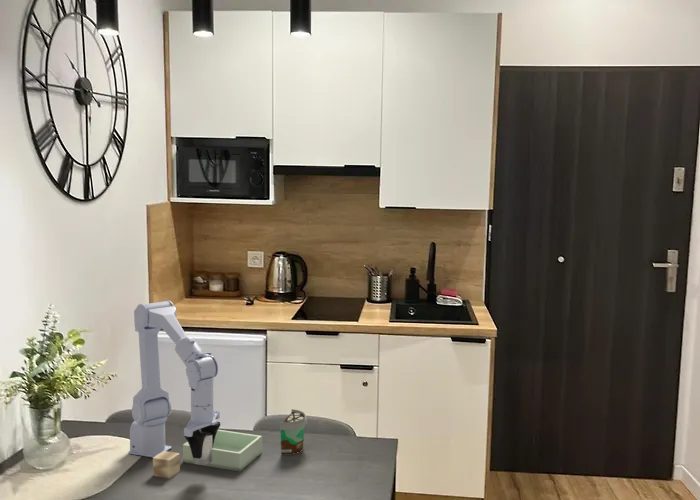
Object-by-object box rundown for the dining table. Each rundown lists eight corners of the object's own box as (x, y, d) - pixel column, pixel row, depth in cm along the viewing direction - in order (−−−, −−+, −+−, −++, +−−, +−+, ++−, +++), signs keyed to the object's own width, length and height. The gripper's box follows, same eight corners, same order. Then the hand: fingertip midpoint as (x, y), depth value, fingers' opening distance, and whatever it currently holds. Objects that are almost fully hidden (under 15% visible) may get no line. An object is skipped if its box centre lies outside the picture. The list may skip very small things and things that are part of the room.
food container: (300, 458, 196) (300, 424, 195) (279, 456, 198) (279, 422, 197) (311, 442, 208) (311, 410, 207) (291, 440, 210) (292, 408, 209)
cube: (153, 475, 184) (152, 457, 184) (164, 468, 189) (163, 450, 188) (169, 478, 183) (169, 460, 182) (180, 471, 187) (179, 453, 187)
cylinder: (189, 463, 180) (189, 437, 180) (199, 455, 185) (199, 430, 184) (206, 466, 179) (206, 439, 178) (215, 458, 183) (215, 432, 183)
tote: (183, 462, 193) (182, 444, 193) (208, 444, 206) (208, 428, 205) (239, 471, 187) (239, 453, 187) (262, 452, 200) (262, 435, 200)
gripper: (201, 414, 172) (201, 466, 174) (229, 396, 186) (229, 445, 187) (176, 410, 174) (177, 462, 176) (206, 393, 188) (206, 442, 189)
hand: (202, 453), depth 182 cm, fingers closed on cylinder, 5 cm apart
